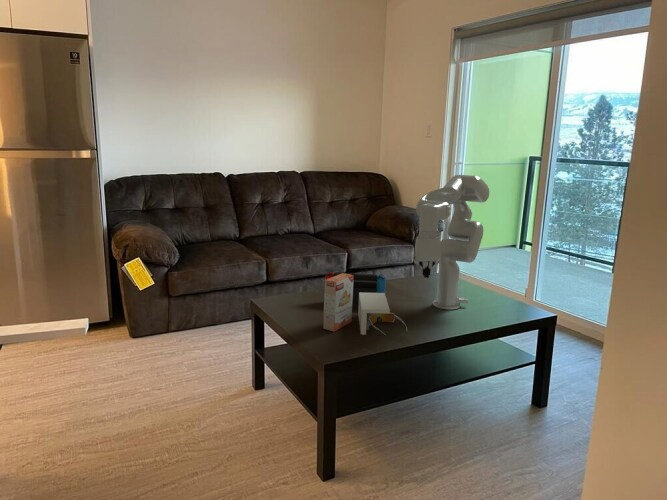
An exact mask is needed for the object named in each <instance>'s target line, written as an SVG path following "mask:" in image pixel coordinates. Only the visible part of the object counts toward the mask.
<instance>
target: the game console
mask: <svg viewBox="0 0 667 500" xmlns="http://www.w3.org/2000/svg"><path fill="white" fill-rule="evenodd" d="M342 273H343V272H333V271H329V272H327V273H326V274H325V276H324V281H325V280H327V279H329V278H332V277H334V276H337V275H339V274H342ZM344 273H345V274H350V275H354V279H353V300H352V307H358V308H359V293H385V294H386V287H387V286H386V283H387V282H386V281H387V278H386V276H384V275H383V274H373V273H371V274H370V273H352V272H350V273H349V272H344Z"/></svg>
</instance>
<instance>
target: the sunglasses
mask: <svg viewBox="0 0 667 500" xmlns="http://www.w3.org/2000/svg"><path fill="white" fill-rule="evenodd" d="M396 319H397V320H399V321H400V322H401V323H402V324H403V325H404V327H405V332H406V333H407V332H408V328H407V324H406V323H405V321H403V319H402V318H401V317H399V316H397V315H396V314H395V313H394V312H390V314H388V313H370V316H368V320H369V327H370V326H372V327H373V328H374V329H375V330H377V332H379V333H380V334H382V335H384V336H386V334H385V332H383V331H382V330H380V329H379V328H378V327H376V326H375V325H374V324H376V323H378V321H379V320H380V322H381V323H383V322H385V323H386V322H387V323H394V322H395V320H396Z"/></svg>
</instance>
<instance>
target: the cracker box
mask: <svg viewBox="0 0 667 500" xmlns="http://www.w3.org/2000/svg"><path fill="white" fill-rule="evenodd" d="M341 273H342V274H339V275H337V276H334V277H332V278H329V279H327V280H325V279H324V292H323V293H324V297H323V300H324V301H323V325H322V326H323V328H322V329H323V330H326V331H331V332H336V331H338V330H340V329H342V328H344V327H345V326H347V325H350V324H351V323H352V320H353V319H352V317H353V306H352V300H353V279H354V275H350V274H345V273H346V272H341Z"/></svg>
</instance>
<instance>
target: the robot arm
mask: <svg viewBox="0 0 667 500" xmlns="http://www.w3.org/2000/svg"><path fill="white" fill-rule="evenodd" d="M489 196H490V188H489V186H488V184H487V183H486V182H485V181H484V180H483V179H482V177H479V176H478V175H469V174H456V175H453V176H452V177H451V178H450V179H449V180H448V181H447V182H446V184H445V185H444V186H443V187H441V188H437V189H435V190H432V191H429V192H427V193H426V194H425V193H424V195H423V196H422V197H421V198H420V199H419V200H418V202H417V204H416V207H415V211H416V212H415V213H416V215H417V216H418V217H419V223H418V227H419V228H418V236H416V239H415V243H414V254H413V256H414V260H413V263H414V264H415V265H420V266H421V268H422V276H423V277H424V278H425V279H429V278H430V276H431V271H432V270H431V269H432V268H433V267H434V266H435V265H438V273H437V284H436V285H437V289H436V299H434V300H433V301H432V305H433V306H434V307H435V308H437V309H442V310H457V309H460V308H461V304H468V303H469V299H468V298H464V297H460V296H459V285H460V284H459V282H460V274H461V272H460V266H459V264H458V262H460V263H469V264H470V263H473V262H474V261H475V260H476V259H477V255H478V252H479V249H480V246H481V243H482V239H483V236H484V226H483V224H482V223H481V222H479V221H477V220H472V216H473V212H472V209H471V207H470V205H469V204H468V203H467V202H471V203H485V202H487V200H488V199H489V198H490V197H489ZM451 205H453V213H452V207H451ZM451 213H452V216H451ZM450 216H451V219H450V221H449V224H448V227H447V236H448V237H449V238H444V239H441V240H440V237H439V236H440V235H442V231H441V230H439V221H444V220H446V219H448V218H449V217H450ZM426 263H427V265H426Z"/></svg>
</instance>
